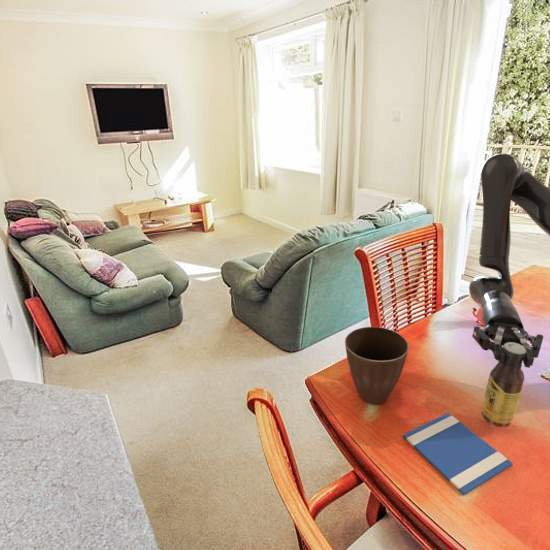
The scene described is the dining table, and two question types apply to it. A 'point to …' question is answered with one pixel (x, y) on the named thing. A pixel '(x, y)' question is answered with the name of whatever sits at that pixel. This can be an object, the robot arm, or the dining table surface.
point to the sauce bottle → (504, 387)
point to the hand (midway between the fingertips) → (515, 361)
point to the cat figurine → (478, 315)
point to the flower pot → (375, 361)
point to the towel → (457, 452)
